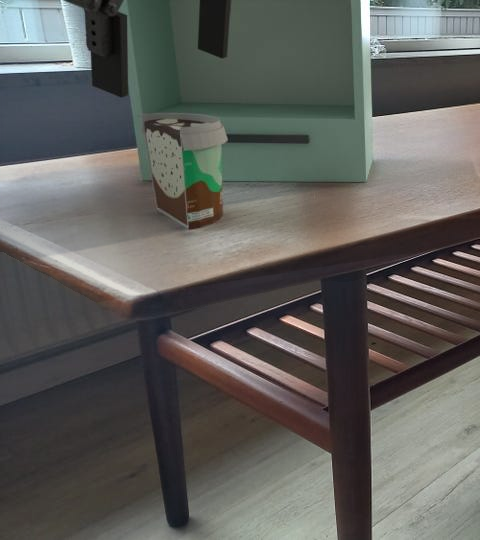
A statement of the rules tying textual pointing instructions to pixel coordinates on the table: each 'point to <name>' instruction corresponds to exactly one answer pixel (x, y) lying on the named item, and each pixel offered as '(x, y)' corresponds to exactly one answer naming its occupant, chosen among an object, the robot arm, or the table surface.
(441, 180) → the table surface
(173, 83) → the mint green cubby cabinet
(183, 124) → the food container
